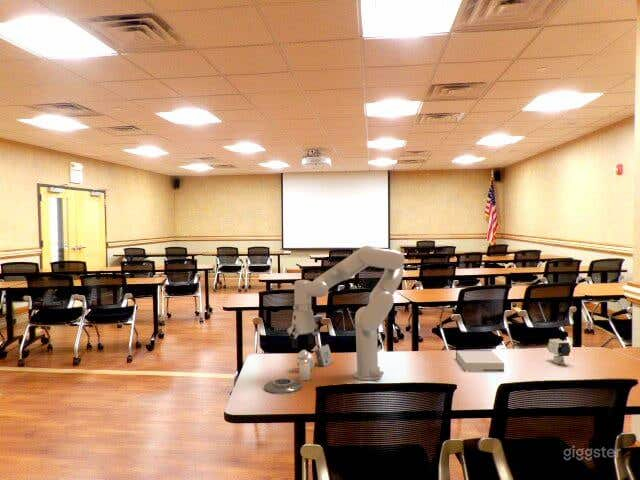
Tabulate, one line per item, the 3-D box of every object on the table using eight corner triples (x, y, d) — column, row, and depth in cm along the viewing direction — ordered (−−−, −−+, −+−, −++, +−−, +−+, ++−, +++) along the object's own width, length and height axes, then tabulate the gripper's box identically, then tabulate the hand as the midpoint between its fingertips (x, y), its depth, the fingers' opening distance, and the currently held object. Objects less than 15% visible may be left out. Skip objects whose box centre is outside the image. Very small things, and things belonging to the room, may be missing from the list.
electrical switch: (324, 367, 231) (322, 348, 232) (315, 367, 234) (313, 348, 234) (333, 362, 240) (331, 344, 240) (324, 362, 242) (322, 344, 242)
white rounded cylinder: (312, 379, 214) (312, 362, 213) (304, 381, 210) (303, 364, 210) (305, 376, 217) (305, 360, 217) (297, 379, 214) (296, 362, 214)
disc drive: (491, 359, 239) (491, 350, 239) (504, 373, 217) (504, 362, 217) (455, 359, 241) (455, 350, 241) (465, 373, 219) (465, 362, 219)
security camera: (556, 359, 235) (555, 335, 234) (571, 366, 223) (570, 341, 223) (545, 360, 234) (545, 336, 234) (560, 367, 222) (559, 341, 222)
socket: (309, 387, 202) (309, 381, 202) (279, 396, 192) (279, 390, 192) (286, 379, 214) (286, 373, 214) (256, 387, 203) (256, 381, 203)
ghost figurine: (293, 369, 229) (292, 348, 229) (311, 366, 233) (310, 346, 233) (299, 374, 221) (299, 353, 221) (318, 371, 225) (318, 350, 225)
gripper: (293, 310, 205) (293, 350, 205) (322, 306, 216) (322, 343, 217) (282, 308, 210) (282, 347, 210) (311, 304, 222) (311, 341, 222)
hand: (302, 345), depth 213 cm, fingers open, 9 cm apart
